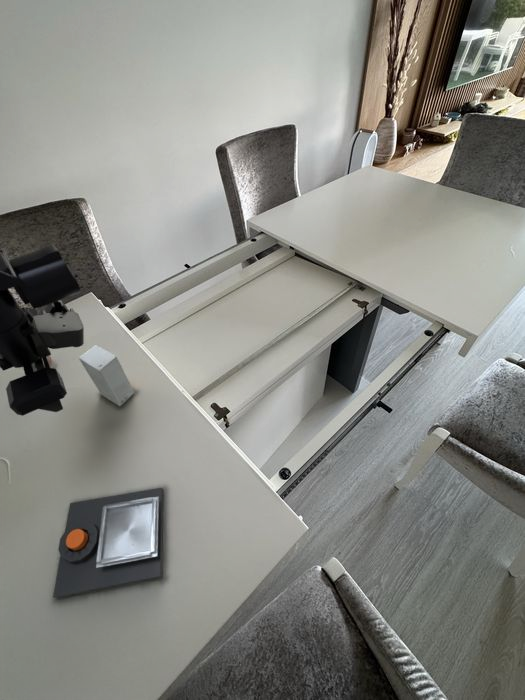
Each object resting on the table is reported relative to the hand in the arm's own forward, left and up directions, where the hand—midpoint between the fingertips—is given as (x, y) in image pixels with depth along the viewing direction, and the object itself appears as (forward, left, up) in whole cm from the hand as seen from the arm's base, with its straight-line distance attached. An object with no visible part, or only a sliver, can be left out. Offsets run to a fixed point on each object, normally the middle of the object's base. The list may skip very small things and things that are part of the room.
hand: (53, 389), depth 56 cm
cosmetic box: (+2, +9, -15) cm, 18 cm away
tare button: (+9, -18, -12) cm, 24 cm away
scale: (+14, -17, -15) cm, 26 cm away
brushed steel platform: (+17, -15, -12) cm, 26 cm away
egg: (-17, +12, -15) cm, 26 cm away
